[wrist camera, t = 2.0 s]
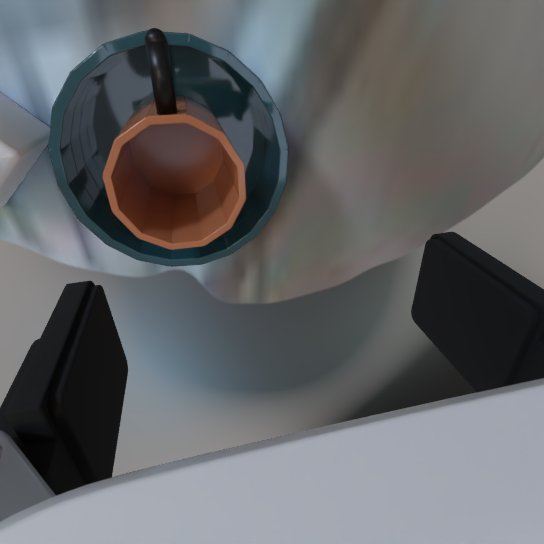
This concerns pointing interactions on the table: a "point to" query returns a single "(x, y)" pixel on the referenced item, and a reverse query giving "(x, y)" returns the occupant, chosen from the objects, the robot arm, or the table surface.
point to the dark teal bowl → (132, 96)
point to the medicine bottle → (18, 145)
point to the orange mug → (173, 166)
